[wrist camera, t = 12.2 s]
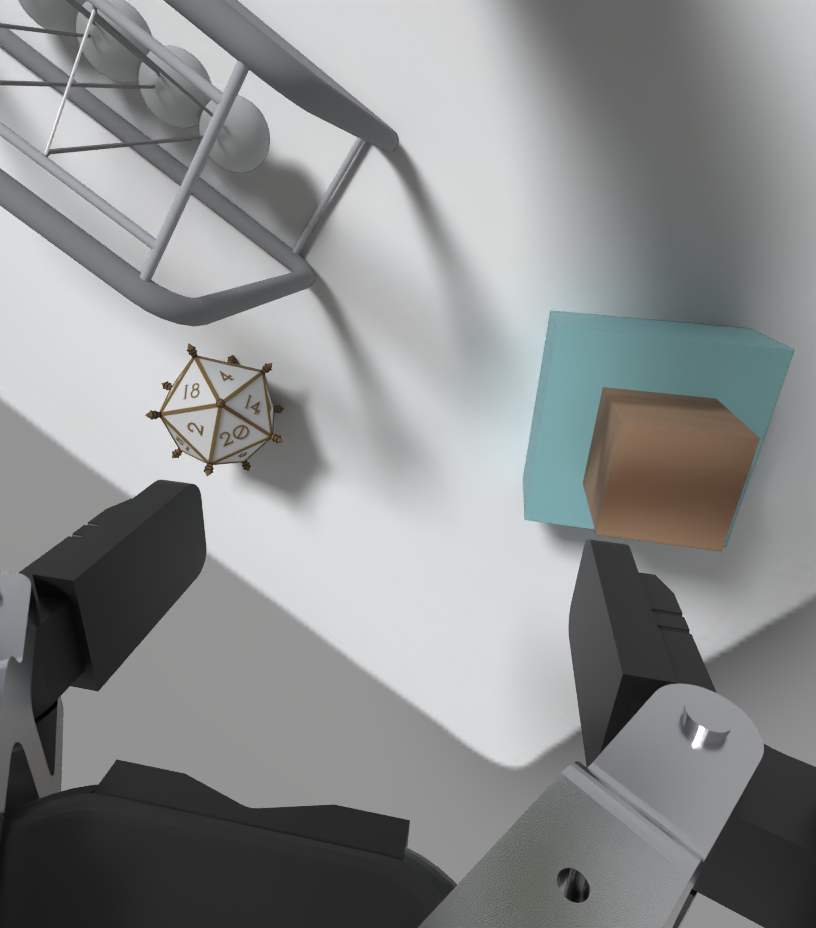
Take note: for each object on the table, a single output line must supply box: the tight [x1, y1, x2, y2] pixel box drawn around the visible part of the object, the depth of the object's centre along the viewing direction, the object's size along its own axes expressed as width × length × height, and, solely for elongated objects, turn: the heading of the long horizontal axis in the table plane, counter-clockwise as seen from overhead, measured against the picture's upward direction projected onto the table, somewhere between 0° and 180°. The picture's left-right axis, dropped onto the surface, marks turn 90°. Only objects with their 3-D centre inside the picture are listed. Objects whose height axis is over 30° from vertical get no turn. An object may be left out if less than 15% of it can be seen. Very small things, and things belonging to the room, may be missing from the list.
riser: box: [523, 311, 794, 547], centre depth 35 cm, size 12×12×6 cm
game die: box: [146, 344, 283, 476], centre depth 38 cm, size 9×8×10 cm
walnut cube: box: [583, 387, 760, 551], centre depth 29 cm, size 6×6×6 cm
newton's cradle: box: [0, 0, 399, 326], centre depth 26 cm, size 30×10×18 cm, turn 54°
